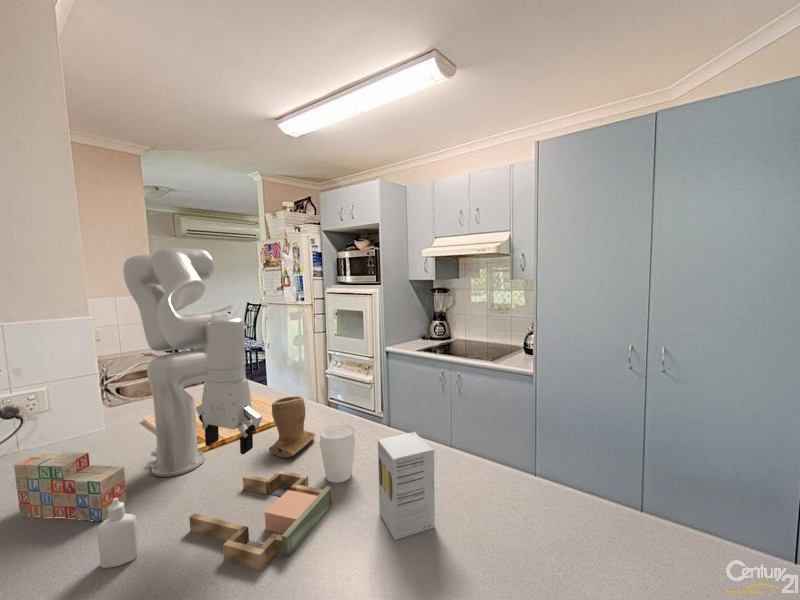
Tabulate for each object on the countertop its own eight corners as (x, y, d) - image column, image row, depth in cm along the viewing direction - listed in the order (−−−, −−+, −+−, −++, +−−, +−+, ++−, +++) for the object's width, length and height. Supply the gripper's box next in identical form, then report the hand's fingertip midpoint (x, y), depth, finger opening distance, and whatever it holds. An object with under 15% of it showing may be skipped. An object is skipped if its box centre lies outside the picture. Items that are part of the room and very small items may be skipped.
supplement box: (378, 512, 79) (376, 438, 78) (416, 501, 83) (414, 430, 82) (394, 542, 71) (392, 459, 69) (436, 527, 74) (435, 448, 73)
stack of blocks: (127, 504, 84) (123, 453, 83) (102, 523, 78) (97, 468, 77) (49, 499, 87) (44, 450, 86) (18, 516, 81) (12, 463, 80)
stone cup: (288, 434, 120) (286, 390, 119) (320, 438, 116) (318, 392, 115) (257, 456, 105) (255, 406, 104) (293, 462, 102) (290, 410, 101)
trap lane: (172, 544, 71) (171, 525, 71) (258, 477, 94) (257, 462, 94) (274, 574, 64) (273, 553, 63) (340, 493, 87) (339, 477, 86)
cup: (349, 487, 89) (347, 440, 88) (315, 484, 91) (313, 437, 90) (360, 468, 98) (359, 425, 97) (329, 465, 100) (327, 423, 99)
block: (265, 530, 75) (264, 512, 75) (288, 506, 83) (288, 489, 82) (298, 538, 72) (297, 519, 72) (319, 513, 80) (318, 496, 80)
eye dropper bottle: (117, 550, 70) (112, 491, 69) (143, 551, 69) (138, 492, 69) (96, 568, 66) (90, 505, 65) (124, 570, 65) (118, 507, 64)
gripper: (181, 373, 78) (185, 448, 80) (246, 383, 73) (248, 463, 75) (210, 364, 85) (212, 433, 87) (270, 373, 80) (272, 446, 82)
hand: (229, 447), depth 81 cm, fingers open, 9 cm apart
